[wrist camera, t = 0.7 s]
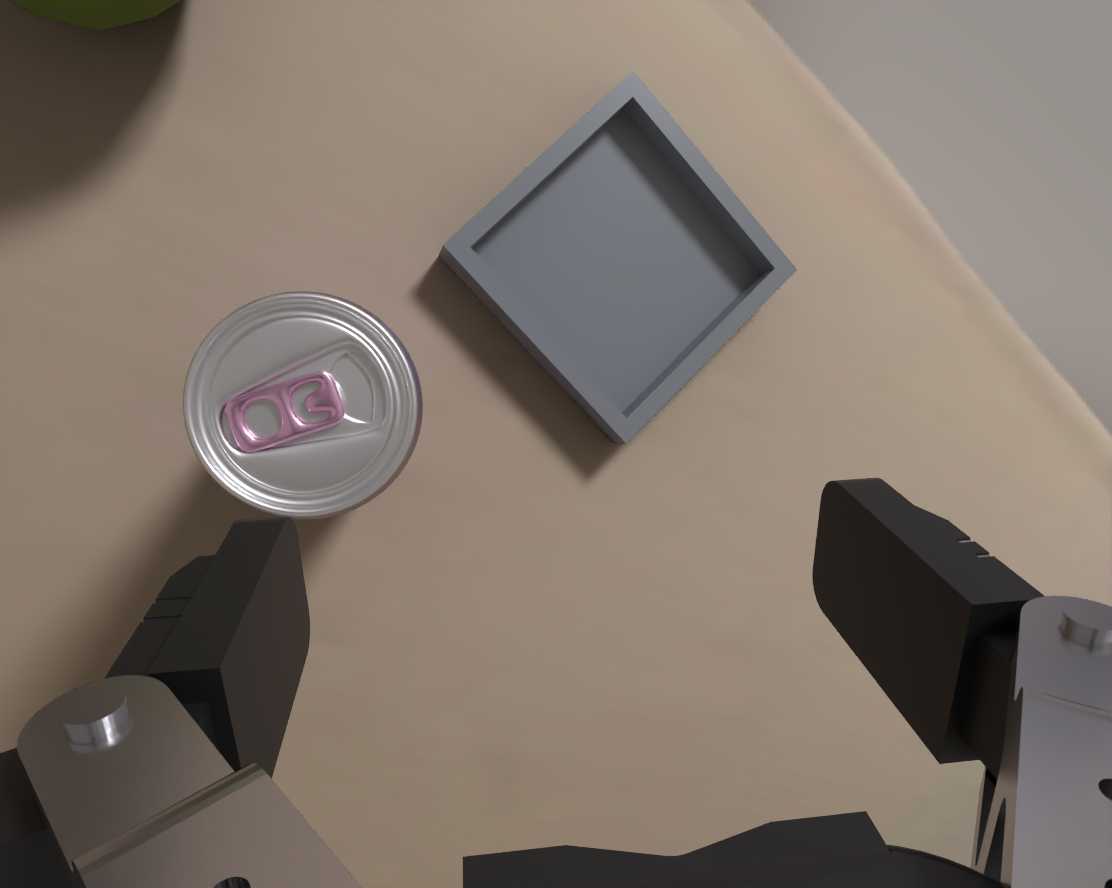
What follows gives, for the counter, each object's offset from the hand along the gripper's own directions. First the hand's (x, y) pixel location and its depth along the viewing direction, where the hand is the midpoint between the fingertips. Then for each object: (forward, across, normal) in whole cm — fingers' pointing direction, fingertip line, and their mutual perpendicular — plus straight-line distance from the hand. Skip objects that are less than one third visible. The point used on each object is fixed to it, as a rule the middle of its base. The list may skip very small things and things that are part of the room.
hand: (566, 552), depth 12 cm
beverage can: (+23, +7, +5) cm, 25 cm away
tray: (+26, -6, 0) cm, 27 cm away
